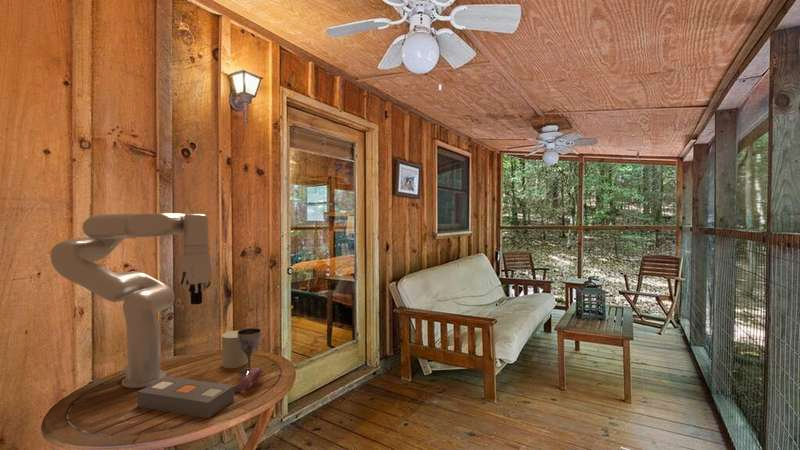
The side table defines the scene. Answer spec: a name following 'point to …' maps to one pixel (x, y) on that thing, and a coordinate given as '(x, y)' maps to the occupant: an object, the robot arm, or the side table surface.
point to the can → (232, 351)
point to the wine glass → (248, 344)
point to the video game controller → (248, 380)
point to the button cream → (162, 385)
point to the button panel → (186, 397)
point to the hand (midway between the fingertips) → (196, 303)
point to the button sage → (211, 392)
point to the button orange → (186, 389)
